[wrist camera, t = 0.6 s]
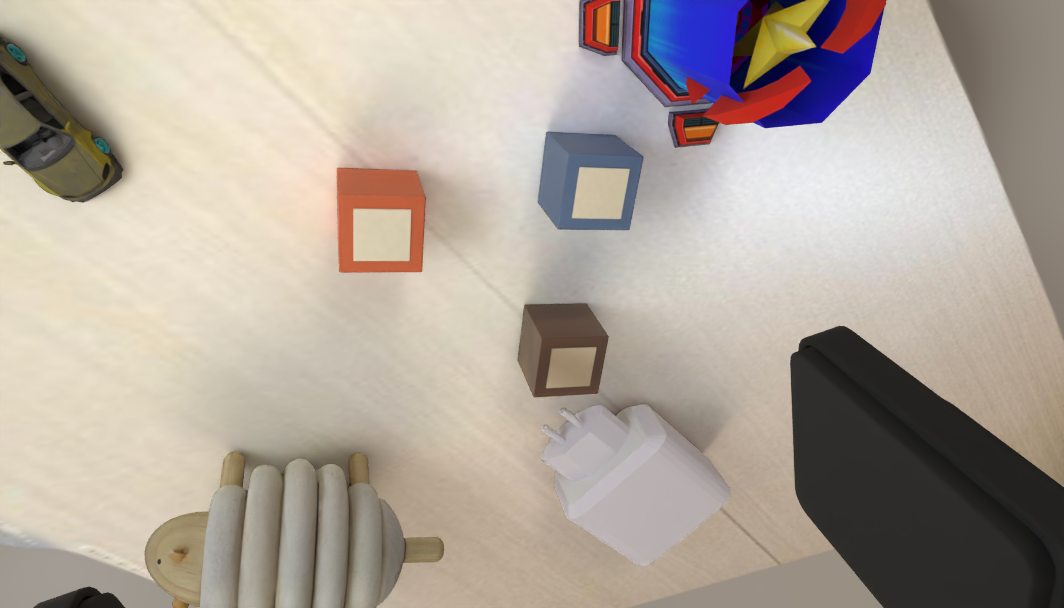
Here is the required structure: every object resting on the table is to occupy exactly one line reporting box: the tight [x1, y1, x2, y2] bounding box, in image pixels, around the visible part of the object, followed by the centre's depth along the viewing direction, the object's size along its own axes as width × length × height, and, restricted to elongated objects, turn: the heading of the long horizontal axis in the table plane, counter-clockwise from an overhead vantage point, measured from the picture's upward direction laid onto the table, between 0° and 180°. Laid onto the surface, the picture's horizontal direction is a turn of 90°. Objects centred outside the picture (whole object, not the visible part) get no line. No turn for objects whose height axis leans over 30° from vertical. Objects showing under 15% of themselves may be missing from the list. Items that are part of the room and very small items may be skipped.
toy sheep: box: [145, 452, 444, 608], centre depth 42 cm, size 11×17×11 cm, turn 81°
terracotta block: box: [337, 168, 426, 272], centre depth 37 cm, size 4×4×4 cm
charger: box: [541, 404, 731, 567], centre depth 50 cm, size 5×9×15 cm
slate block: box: [538, 132, 643, 230], centre depth 39 cm, size 4×4×4 cm
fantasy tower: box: [579, 0, 886, 148], centre depth 33 cm, size 12×12×12 cm
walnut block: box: [518, 304, 609, 397], centre depth 44 cm, size 4×4×4 cm
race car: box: [0, 37, 123, 202], centre depth 32 cm, size 4×8×2 cm, turn 29°
